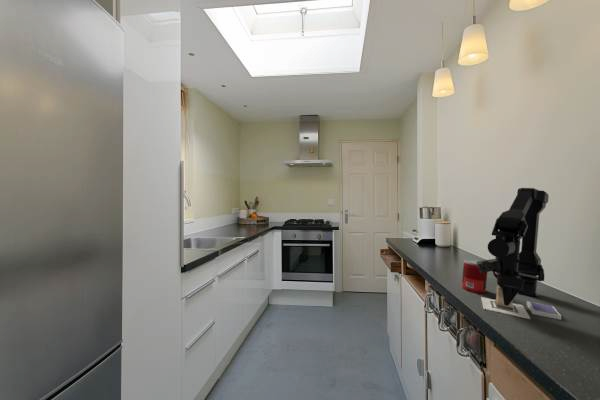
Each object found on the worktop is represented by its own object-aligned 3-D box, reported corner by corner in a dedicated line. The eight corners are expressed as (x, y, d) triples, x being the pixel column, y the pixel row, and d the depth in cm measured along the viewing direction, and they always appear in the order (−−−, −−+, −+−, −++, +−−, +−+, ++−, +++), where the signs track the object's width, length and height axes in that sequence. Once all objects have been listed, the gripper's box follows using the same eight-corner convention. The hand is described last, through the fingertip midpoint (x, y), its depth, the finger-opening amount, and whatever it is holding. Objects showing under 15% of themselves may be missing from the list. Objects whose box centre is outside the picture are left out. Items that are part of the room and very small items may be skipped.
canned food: (489, 294, 108) (491, 265, 108) (465, 291, 110) (468, 263, 110) (480, 287, 116) (483, 260, 115) (459, 285, 117) (461, 258, 117)
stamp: (494, 302, 99) (496, 282, 99) (510, 306, 97) (512, 284, 97) (496, 307, 95) (498, 285, 95) (512, 310, 93) (514, 288, 93)
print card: (481, 297, 104) (481, 296, 104) (522, 306, 98) (522, 304, 98) (483, 309, 94) (483, 308, 94) (530, 319, 88) (530, 317, 88)
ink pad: (526, 304, 100) (526, 300, 100) (552, 309, 96) (553, 305, 96) (532, 313, 92) (532, 309, 92) (561, 319, 89) (561, 315, 88)
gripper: (477, 246, 107) (474, 287, 108) (481, 255, 91) (477, 304, 92) (515, 250, 102) (511, 294, 103) (525, 261, 86) (521, 313, 86)
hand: (504, 300), depth 96 cm, fingers open, 9 cm apart
